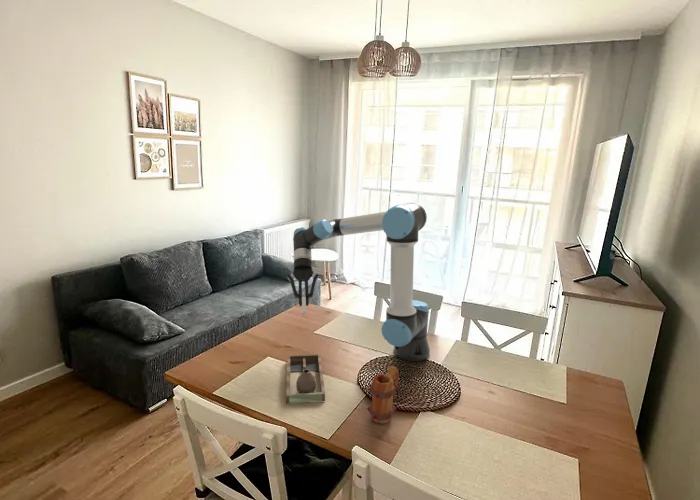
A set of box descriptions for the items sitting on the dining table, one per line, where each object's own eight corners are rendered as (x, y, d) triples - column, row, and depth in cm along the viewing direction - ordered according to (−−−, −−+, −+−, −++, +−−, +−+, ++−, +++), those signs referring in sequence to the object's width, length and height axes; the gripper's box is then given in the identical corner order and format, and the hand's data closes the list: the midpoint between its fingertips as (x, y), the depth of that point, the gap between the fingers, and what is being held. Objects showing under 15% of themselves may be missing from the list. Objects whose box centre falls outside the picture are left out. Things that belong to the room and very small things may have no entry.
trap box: (287, 362, 160) (287, 355, 159) (320, 360, 162) (320, 353, 161) (286, 403, 133) (286, 395, 132) (325, 401, 135) (325, 393, 134)
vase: (313, 400, 135) (313, 377, 133) (293, 398, 136) (293, 375, 134) (318, 389, 142) (318, 367, 140) (299, 387, 143) (299, 365, 141)
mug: (385, 431, 121) (388, 387, 117) (362, 421, 125) (364, 378, 122) (405, 407, 133) (408, 366, 130) (384, 399, 137) (386, 359, 134)
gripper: (317, 265, 172) (320, 316, 159) (287, 265, 170) (287, 317, 158) (318, 256, 165) (321, 308, 153) (286, 256, 164) (287, 309, 151)
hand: (304, 313), depth 155 cm, fingers closed
